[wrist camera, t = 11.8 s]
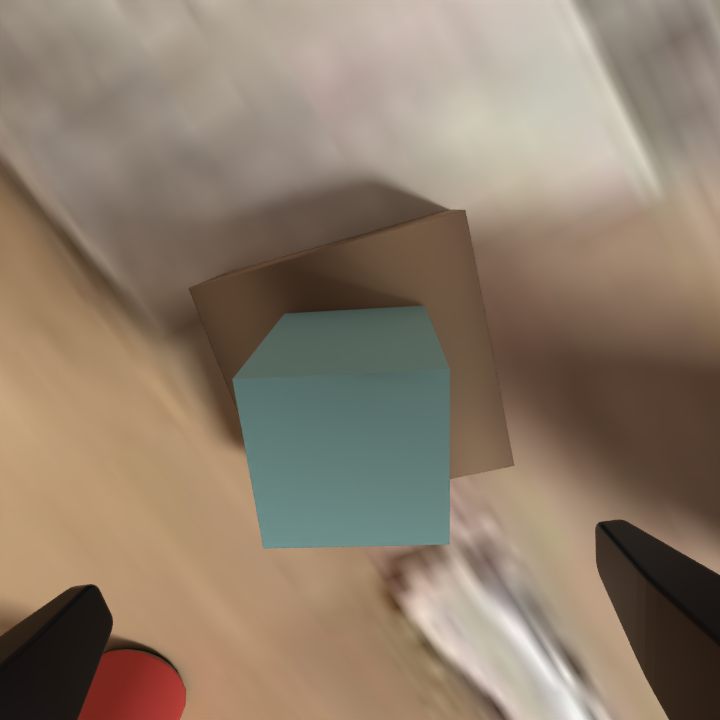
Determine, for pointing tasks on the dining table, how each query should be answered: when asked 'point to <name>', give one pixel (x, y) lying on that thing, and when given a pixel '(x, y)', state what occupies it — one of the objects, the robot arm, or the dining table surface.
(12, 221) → the dining table surface
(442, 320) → the walnut block
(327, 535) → the teal block
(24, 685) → the robot arm
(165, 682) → the beer can
